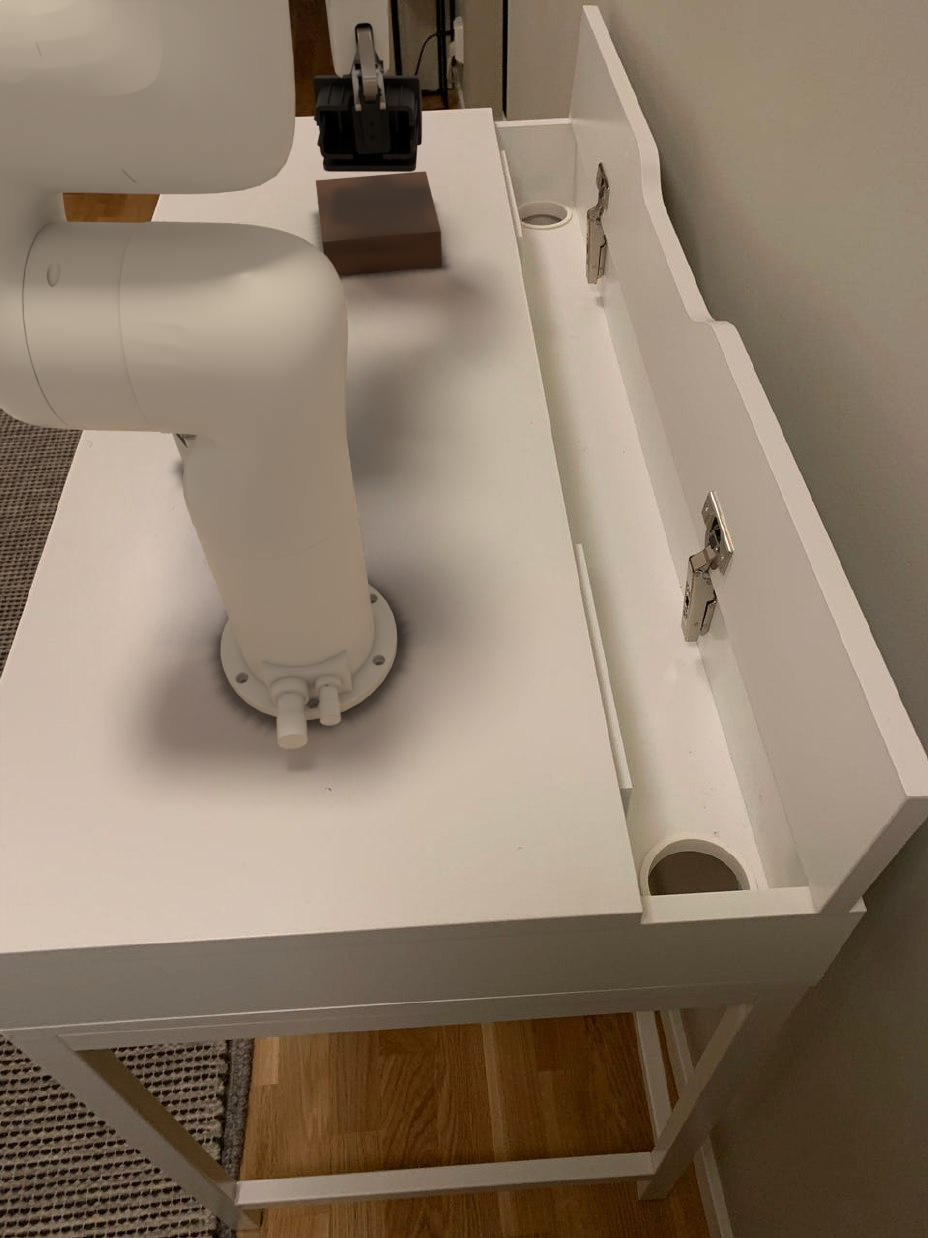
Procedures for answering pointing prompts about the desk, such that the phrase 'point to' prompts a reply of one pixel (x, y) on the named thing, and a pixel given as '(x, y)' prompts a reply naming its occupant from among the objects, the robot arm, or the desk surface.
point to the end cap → (339, 125)
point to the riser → (379, 223)
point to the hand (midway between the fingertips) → (369, 128)
